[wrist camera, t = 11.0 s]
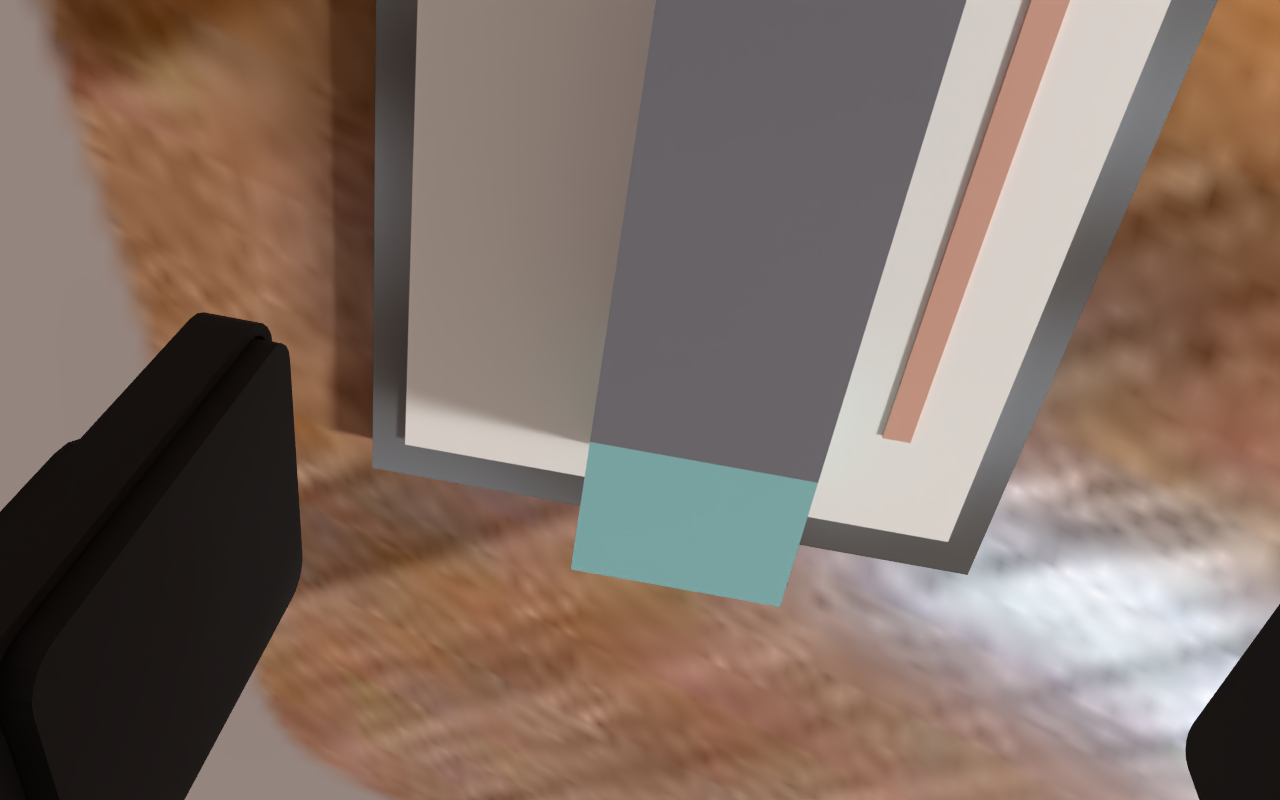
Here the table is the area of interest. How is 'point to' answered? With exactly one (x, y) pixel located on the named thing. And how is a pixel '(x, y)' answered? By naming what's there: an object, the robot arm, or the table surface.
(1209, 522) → the table surface
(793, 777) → the table surface
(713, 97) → the teal-tipped grey bar
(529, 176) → the drawing board
